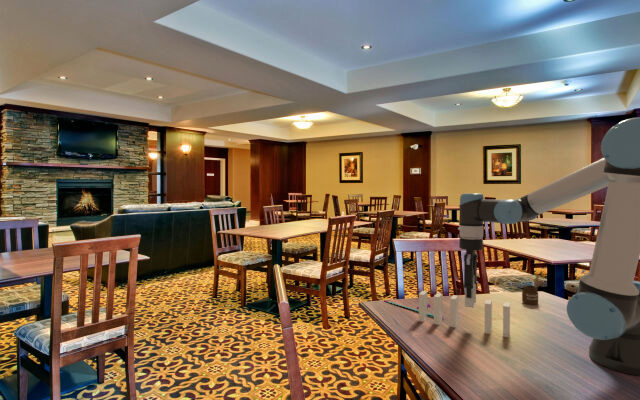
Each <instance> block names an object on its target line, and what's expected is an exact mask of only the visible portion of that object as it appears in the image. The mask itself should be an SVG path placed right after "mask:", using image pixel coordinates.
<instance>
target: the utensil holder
mask: <svg viewBox="0 0 640 400" xmlns="http://www.w3.org/2000/svg"><path fill="white" fill-rule="evenodd" d="M539 277H540V275H538V274H536V275H535V278H534V285H531V284H529V282H530V281H529V279H527V276H525V277H523V279H527V281H526V280H523V282H522V283H523V286H522V288H523V289H522V291H521V293H522V294H521V301H522V303H523V304H524V305H525V304H526V305H530V306H531V305H532V306H533V305H534V306H537V305H539V292H538V287H537V283H538V281H539ZM525 282H526V283H527V284H525ZM524 284H525V285H524Z"/></svg>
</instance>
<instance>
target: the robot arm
mask: <svg viewBox="0 0 640 400" xmlns="http://www.w3.org/2000/svg"><path fill="white" fill-rule="evenodd" d="M600 150H601V153H602V156H603V157H602V158H600V159H598V160H597V161H594V162H592V163H590V164H587V165H586V166H584V167H582V168H580V169H577V170H576V171H574V172H572V173H569V174H567V175H565V176H563V177H561V178H559V179H556V180H555V181H553V182H551V183H549V184H546V185H544V186H542V187H540V188H538V189H536V190H534V191H532V192H530V193H528V194H526V195H523V196H521V197H518V198H517V199H516V198H515V199H514V198H513V199H512V198H511V199H509V198H508V199H485V198H484V194H483V193H478V192H477V193H476V192H475V193H471V192H470V193H467V192H466V193H462V194H460V197H459V204H458V205H459V206H458V207H459V227H457V230H458V231H459V237H460V238H459V242H458V243H459V249H461V250H465V253H464V254H463V263H464V268H463V270H464V271H463V272H464V274H463V275H464V276H463V278H464V279H463V285H462V288H463V289H464V307H467V308H474V305H475V304H476V303H477V285H478V284H479V281H477V280H478V277H477V275H478V273H477V272H478V269H477V268H478V267H477V266H478V259H479V258H478V257H479V256H478V255H479V254H478V253H477V252H476V251H482V250H483V249H484V240H483V237H484V223H495V224H496V223H497V224H503V225H508V224H509V225H514V224H517V223H519V222H529V221H533V220H535V219H536V218H538V216H539V215H542V214H544V213H546V212H549V211H551V210H554V209H556V208H559V207H561V206H564V205H566V204H569V203H570V202H572V201H575V200H578V199H581V198H583V197H586V196H587V195H590V194H592V193H595V192H598V191H599V190H602V189H605V188H607V190H606V194H605V200H604V204H603V208H602V212H601V218H600V223H599V226H598V231H597V235H596V239H595V240H596V241H595V244H594V250H593V252H592V253H593V254H592V257H591V262H590V267H589V271H588V272H587V273H586V274H584V275H581V276H580V278H579V283H578V287H577V291H576V293H575V294H573V295H572V296H571V297H570V298H569V300H568V301H567V303H566V314H567V317H568V318H569V321H570V322H571V323H572V325H573V326H574V328H575V329H576V330H577V331H579V332H581V333H582V334H584V335H586V336H587V337H589V338H591V342H590V344H589V346H588V357H589V358H590V359H591V360H592V361H594V362H595V363H597V364H599V365H600V366H602V367H605V368H608V369H610V370H612V371H616V372H620V373H624V374H627V375H632V376H633V375H634V376H640V281H638V280H635V278H636V277H635V276H636V272H637V268H638V263H639V259H640V116H639V117H632V118H628V119H627V118H626V119H624V120H621V121H620V122H618V123H616V124H615V125H613V126H612V127H611V128H610V129H608V131H606V133H605V134H604V136H603V138H602V141H601V146H600ZM474 275H475V276H474ZM473 278H474V288H473Z"/></svg>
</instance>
